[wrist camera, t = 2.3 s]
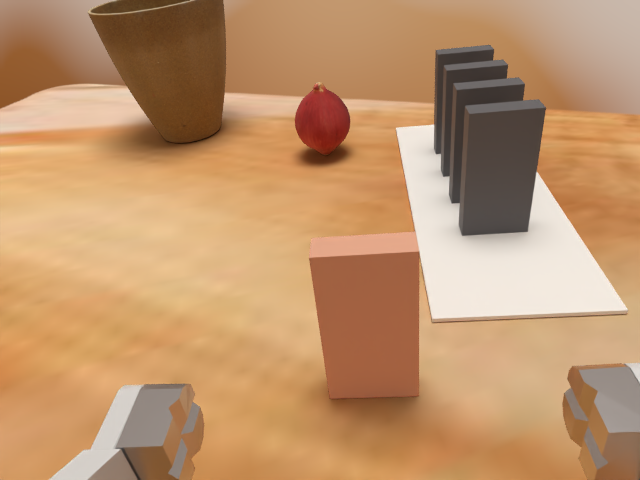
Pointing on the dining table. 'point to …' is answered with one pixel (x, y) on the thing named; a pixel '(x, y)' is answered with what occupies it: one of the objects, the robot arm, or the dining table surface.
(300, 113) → the onion
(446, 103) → the domino
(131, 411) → the robot arm
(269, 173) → the dining table surface
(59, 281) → the dining table surface
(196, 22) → the plant pot
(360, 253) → the terracotta domino
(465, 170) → the domino
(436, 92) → the domino
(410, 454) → the dining table surface
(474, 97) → the domino
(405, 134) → the mat
